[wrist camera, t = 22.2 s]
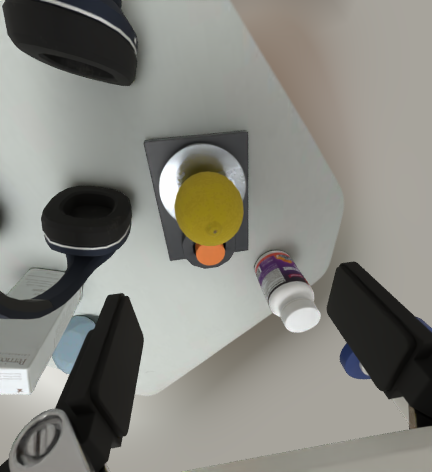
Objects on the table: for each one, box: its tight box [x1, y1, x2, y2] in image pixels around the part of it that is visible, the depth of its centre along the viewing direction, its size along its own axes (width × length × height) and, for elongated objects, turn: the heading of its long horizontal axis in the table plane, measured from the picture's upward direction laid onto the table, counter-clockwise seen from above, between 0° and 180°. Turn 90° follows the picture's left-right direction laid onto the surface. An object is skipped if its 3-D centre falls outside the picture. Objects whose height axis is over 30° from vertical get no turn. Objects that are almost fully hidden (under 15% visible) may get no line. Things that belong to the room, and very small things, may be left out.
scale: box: [144, 130, 248, 269], centre depth 25 cm, size 10×14×3 cm
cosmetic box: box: [0, 268, 82, 395], centre depth 24 cm, size 6×4×12 cm
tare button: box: [195, 243, 225, 265], centre depth 26 cm, size 3×3×2 cm
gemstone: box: [52, 316, 95, 374], centre depth 33 cm, size 8×8×5 cm
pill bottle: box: [255, 251, 321, 333], centre depth 28 cm, size 5×5×10 cm
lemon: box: [174, 171, 244, 246], centre depth 19 cm, size 6×6×8 cm
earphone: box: [0, 0, 138, 320], centre depth 14 cm, size 20×7×18 cm, turn 168°
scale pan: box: [159, 143, 246, 219], centre depth 22 cm, size 8×8×1 cm
